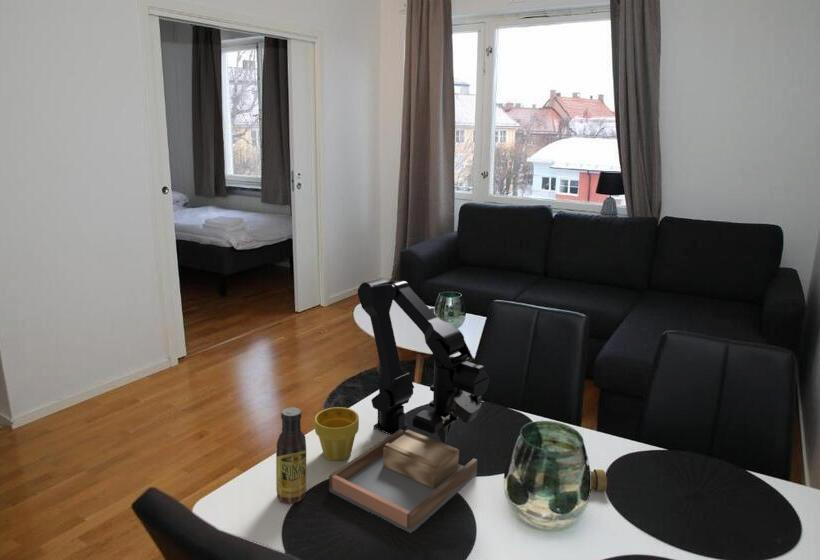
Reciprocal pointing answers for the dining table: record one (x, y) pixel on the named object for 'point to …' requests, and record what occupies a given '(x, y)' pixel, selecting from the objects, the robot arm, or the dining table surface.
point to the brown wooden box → (421, 458)
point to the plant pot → (336, 431)
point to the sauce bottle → (291, 458)
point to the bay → (395, 488)
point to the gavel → (598, 480)
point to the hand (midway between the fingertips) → (443, 441)
